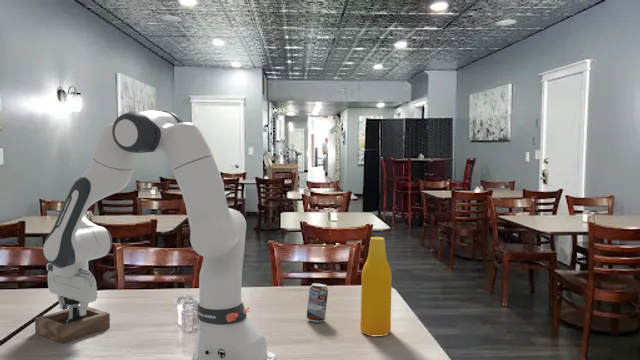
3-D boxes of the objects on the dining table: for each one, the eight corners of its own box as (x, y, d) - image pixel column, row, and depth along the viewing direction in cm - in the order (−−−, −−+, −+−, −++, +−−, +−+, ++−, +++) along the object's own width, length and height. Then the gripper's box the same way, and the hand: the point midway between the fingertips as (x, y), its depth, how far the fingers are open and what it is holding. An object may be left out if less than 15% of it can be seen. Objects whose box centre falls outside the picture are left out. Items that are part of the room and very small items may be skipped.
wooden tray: (109, 327, 150) (109, 313, 150) (61, 343, 138) (61, 328, 137) (83, 318, 158) (82, 304, 158) (35, 333, 145) (35, 318, 145)
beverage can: (303, 322, 157) (303, 285, 156) (313, 315, 164) (314, 280, 163) (320, 325, 154) (320, 288, 153) (330, 318, 161) (331, 282, 160)
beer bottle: (355, 328, 153) (357, 236, 151) (381, 324, 156) (383, 234, 154) (368, 339, 144) (370, 241, 142) (396, 335, 147) (398, 239, 145)
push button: (73, 332, 144) (73, 298, 143) (57, 330, 144) (56, 297, 144) (87, 324, 150) (87, 292, 150) (71, 322, 151) (71, 291, 150)
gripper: (102, 269, 144) (103, 315, 144) (63, 260, 155) (64, 303, 155) (82, 274, 138) (83, 322, 139) (43, 264, 149) (44, 308, 150)
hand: (72, 312), depth 147 cm, fingers open, 8 cm apart
